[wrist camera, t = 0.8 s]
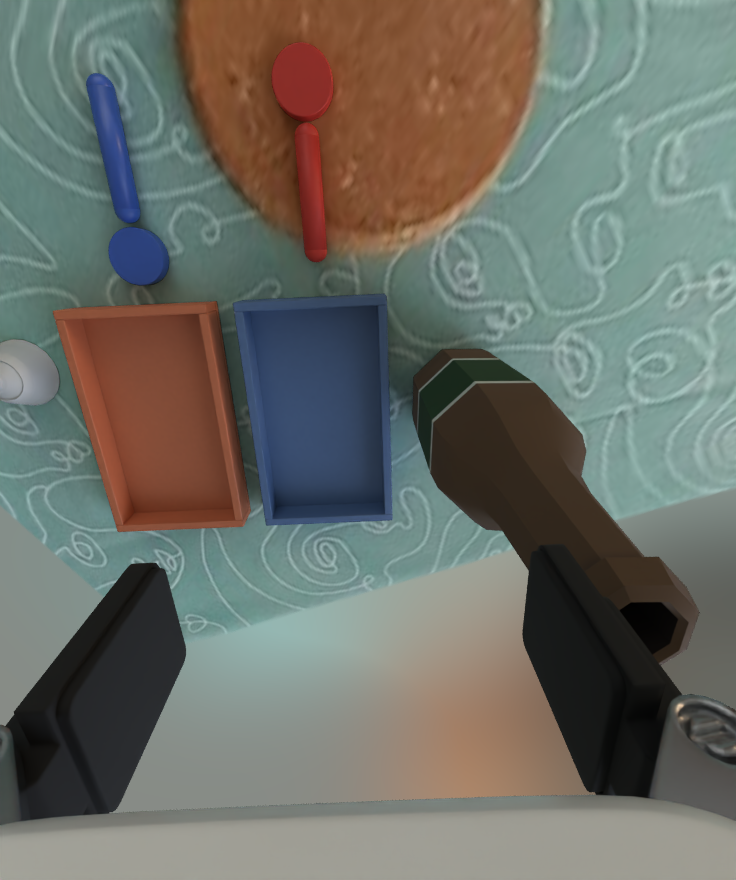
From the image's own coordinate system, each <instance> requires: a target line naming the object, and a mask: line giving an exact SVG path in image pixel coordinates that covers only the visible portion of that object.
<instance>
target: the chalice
mask: <svg viewBox="0 0 736 880" xmlns="http://www.w3.org/2000/svg"><path fill="white" fill-rule="evenodd" d="M59 383H60V380H59V374H58V370H57V368H56V366H55V364H54V362H53V360H52V359H51V358H50V357H49V356H48V354H47V353H46V352H45V351H43V350H42V349H41V348H39V347H38V346H36V345H35V344H32V343H30V342H27V341H24V340H15V339H12V340H8V341H4V342H2V343H0V400H1V401H4V402H6V403H13V404H24V405H34V406H36V405H41V404H45V403H47V402H48V401H50V400H51V399H53V398H54V396H55V395H56V393H57V392H58V388H59Z"/></svg>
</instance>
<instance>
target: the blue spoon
mask: <svg viewBox="0 0 736 880" xmlns="http://www.w3.org/2000/svg"><path fill="white" fill-rule="evenodd" d="M86 86H87V92H88V96H89V100H90V105H91V109H92V114H93V118H94V122H95V127H96V131H97V136H98V140H99V144H100V149H101V153H102V157H103V162H104V166H105V171H106V175H107V179H108V184H109V188H110V193H111V197H112V201H113V206H114V210H115V213H116V215H117V216H118V218H119V219H121V220H122V221H124V222H126V223H134V222H136V221H137V220H138V219H139V218H140V207H139V202H138V197H137V193H136V188H135V183H134V178H133V173H132V169H131V164H130V159H129V154H128V149H127V145H126V140H125V135H124V130H123V125H122V121H121V116H120V111H119V106H118V101H117V97H116V92H115V88H114V86H113V84H112V83H111V81H110V80H109V79H108V78H107V77H106V76H104V75H102V74H99V73H94V74H91V75H90V76H89V77H88V78H87V81H86ZM109 258H110V262H111V264H112V266H113V268H114V270H115V271H116V272H117V274H118V275H119V276H120V277H121V278H123V279H124V280H125V281H127V282H129V283H131V284H135V285H152V284H155V283H158V282H159V281H161V280H162V279H163V278H164V277H165V275H166V273H167V271H168V268H169V256H168V252H167V249H166V247H165V245H164V244H163V242H162V241H161V240H160V239H159V238H158V237H157V236H156V235H155V234H154V233H152V232H150V231H148V230H145V229H141V228H135V227H126V228H123V229H121V230H119V231H117V232H116V233H115V234H114V235H113V237H112V239H111V241H110V243H109Z"/></svg>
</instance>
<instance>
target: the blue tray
mask: <svg viewBox="0 0 736 880" xmlns="http://www.w3.org/2000/svg"><path fill="white" fill-rule="evenodd" d="M233 308H234V314H235V321H236V328H237V334H238V341H239V348H240V355H241V361H242V368H243V375H244V381H245V388H246V395H247V401H248V408H249V415H250V421H251V428H252V435H253V441H254V448H255V455H256V461H257V468H258V475H259V482H260V488H261V495H262V502H263V508H264V515H265V521H266V525H290V524H314V523H338V522H361V521H385V520H392V482H391V443H390V404H389V365H388V326H387V296H386V295H385V294H367V295H345V296H323V297H301V298H279V299H257V300H242V301H238V302H234V303H233Z"/></svg>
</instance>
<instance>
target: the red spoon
mask: <svg viewBox="0 0 736 880" xmlns="http://www.w3.org/2000/svg"><path fill="white" fill-rule="evenodd" d="M272 87H273V91H274V94H275V96H276V98H277V100H278V102H279V104H280V106H281V108H282V109H283V110H284V111H285V113H287V114H288V115H289V116H290V117H292V118H294V119H296V120H298V121H305V122H307V121H312V120H315V119H317V118H319V117H320V116H322V115H323V114H324V113H325V111H326V110H327V109H328V107H329V105H330V103H331V100H332V96H333V78H332V72H331V68H330V65H329V63H328V61H327V59H326V58H325V56H324V55H323V54H322V52H321V51H320V50H318V49H317V48H316V47H314V46H312V45H310V44H308V43H302V42H298V43H293V44H290V45H288V46H287V47H285V48H284V49H283V50H282V51H281V52H280V53H279V54H278V56H277V58H276V60H275V62H274V65H273V69H272ZM295 147H296V159H297V170H298V181H299V193H300V204H301V215H302V227H303V238H304V249H305V254H306V256H307V258H308V259H309V260H310V261H312V262H320V261H322V260H323V259H324V258H325V257H326V254H327V243H326V229H325V214H324V200H323V186H322V172H321V158H320V144H319V134H318V131H317V129H316V128H315V127H314V126H313V125H312V124H310V123H302V124H300V125H299V126H298V127H297V129H296V131H295Z"/></svg>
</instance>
